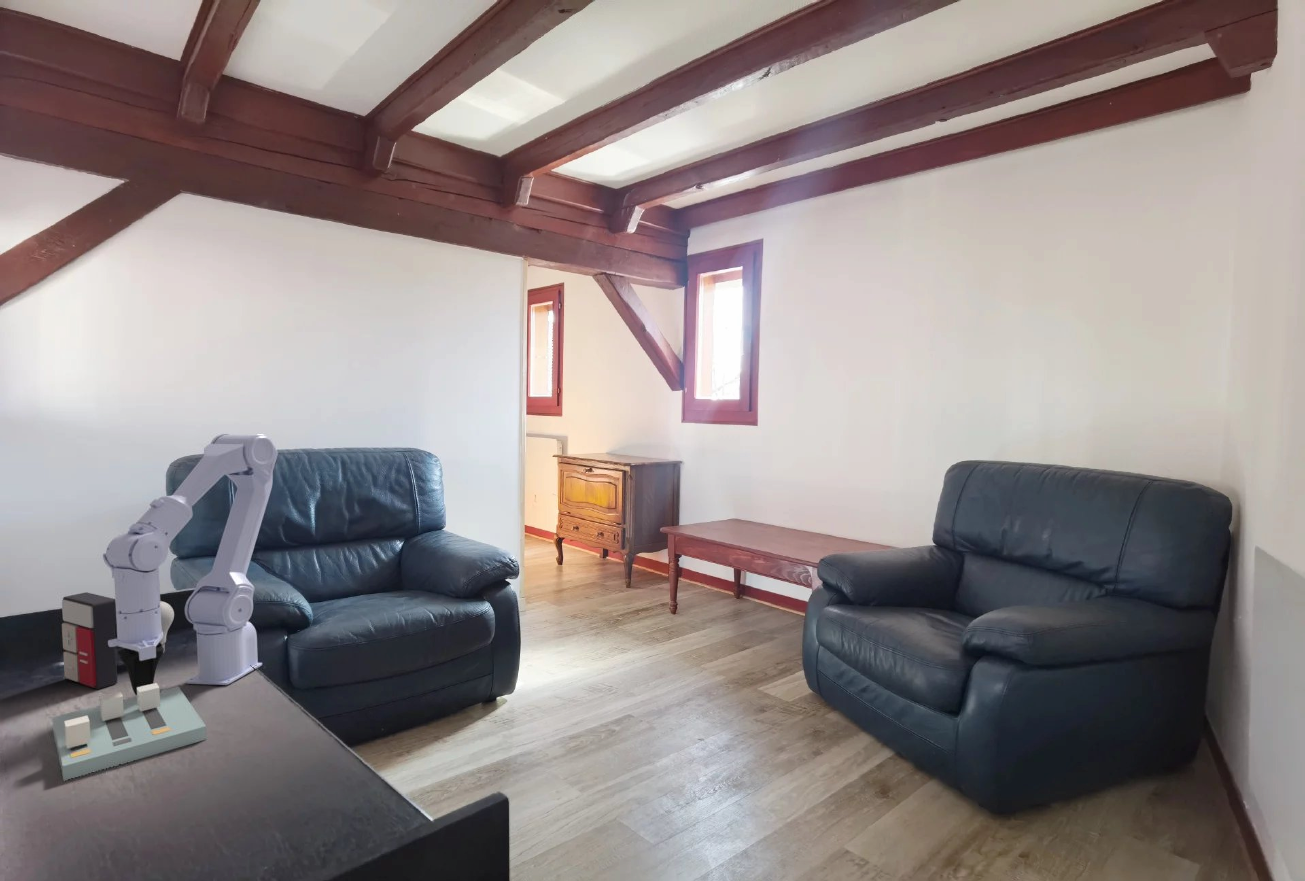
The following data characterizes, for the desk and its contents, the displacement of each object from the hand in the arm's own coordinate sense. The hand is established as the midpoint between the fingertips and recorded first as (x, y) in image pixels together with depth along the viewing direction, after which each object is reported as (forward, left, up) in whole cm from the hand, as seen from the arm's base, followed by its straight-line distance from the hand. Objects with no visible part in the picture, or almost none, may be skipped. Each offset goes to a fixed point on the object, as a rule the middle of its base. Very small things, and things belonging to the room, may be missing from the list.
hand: (142, 692), depth 111 cm
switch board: (+8, +5, -3) cm, 10 cm away
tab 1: (+15, +4, -1) cm, 15 cm away
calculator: (-10, -19, -3) cm, 22 cm away
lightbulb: (-22, -17, -3) cm, 28 cm away
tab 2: (+7, +1, -1) cm, 7 cm away
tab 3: (+4, +4, -1) cm, 6 cm away
